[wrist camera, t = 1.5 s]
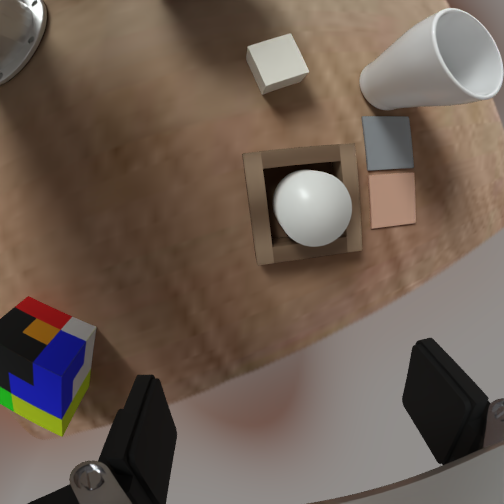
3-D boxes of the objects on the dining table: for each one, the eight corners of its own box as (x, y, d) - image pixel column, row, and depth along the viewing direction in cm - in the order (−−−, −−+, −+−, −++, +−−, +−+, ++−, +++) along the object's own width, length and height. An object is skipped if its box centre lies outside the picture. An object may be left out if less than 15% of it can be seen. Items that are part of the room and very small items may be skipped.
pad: (367, 175, 31) (368, 175, 30) (412, 172, 31) (414, 172, 30) (370, 228, 32) (371, 228, 32) (414, 222, 32) (415, 222, 32)
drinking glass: (349, 111, 29) (433, 82, 14) (351, 50, 27) (427, -9, 13) (407, 123, 29) (506, 113, 15) (408, 66, 27) (500, 29, 13)
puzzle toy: (96, 326, 34) (61, 376, 24) (89, 385, 36) (62, 436, 27) (28, 295, 32) (-17, 333, 23) (27, 356, 35) (-8, 398, 25)
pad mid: (361, 116, 29) (362, 116, 29) (407, 117, 29) (408, 116, 29) (367, 170, 31) (368, 170, 30) (412, 167, 31) (413, 167, 30)
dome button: (268, 173, 28) (274, 175, 24) (334, 166, 28) (348, 168, 24) (276, 239, 30) (282, 251, 26) (339, 230, 30) (353, 241, 26)
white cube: (245, 59, 27) (247, 46, 23) (284, 47, 27) (290, 33, 23) (261, 95, 28) (265, 86, 24) (300, 82, 28) (309, 72, 24)
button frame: (242, 154, 30) (243, 153, 27) (344, 144, 30) (354, 143, 27) (255, 255, 32) (257, 265, 29) (351, 242, 33) (362, 250, 30)
